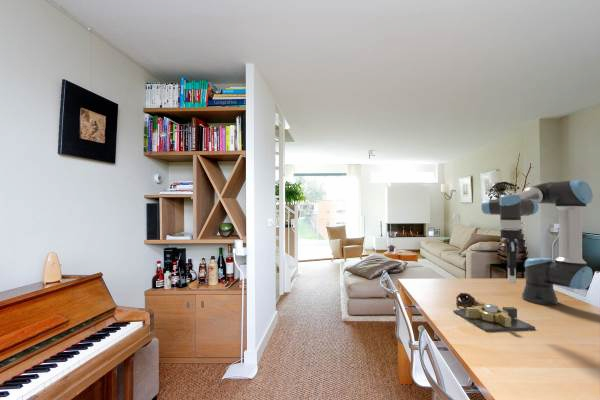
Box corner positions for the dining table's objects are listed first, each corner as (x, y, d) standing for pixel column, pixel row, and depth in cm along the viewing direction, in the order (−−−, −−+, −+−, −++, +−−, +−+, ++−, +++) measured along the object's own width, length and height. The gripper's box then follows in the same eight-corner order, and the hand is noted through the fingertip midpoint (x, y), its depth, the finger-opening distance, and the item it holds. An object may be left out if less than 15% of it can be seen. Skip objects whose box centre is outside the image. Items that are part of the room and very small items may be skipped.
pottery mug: (483, 311, 144) (477, 298, 142) (464, 319, 145) (459, 306, 143) (470, 298, 155) (464, 285, 154) (453, 305, 157) (447, 292, 155)
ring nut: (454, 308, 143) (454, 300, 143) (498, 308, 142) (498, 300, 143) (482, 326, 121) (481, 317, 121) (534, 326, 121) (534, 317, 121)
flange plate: (495, 310, 143) (495, 297, 144) (535, 329, 121) (534, 313, 122) (453, 312, 142) (453, 298, 142) (485, 331, 120) (485, 315, 120)
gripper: (523, 230, 121) (525, 287, 121) (519, 228, 132) (520, 280, 132) (501, 230, 125) (503, 285, 124) (499, 227, 136) (500, 278, 136)
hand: (512, 282), depth 128 cm, fingers closed
